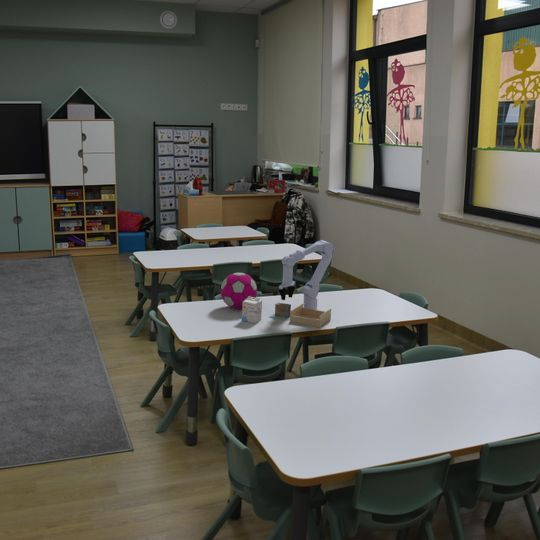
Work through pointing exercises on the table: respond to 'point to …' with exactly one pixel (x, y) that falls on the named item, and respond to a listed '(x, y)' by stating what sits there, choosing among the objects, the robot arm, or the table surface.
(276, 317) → the teal mat
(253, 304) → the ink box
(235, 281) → the soccer ball
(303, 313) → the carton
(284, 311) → the walnut block
